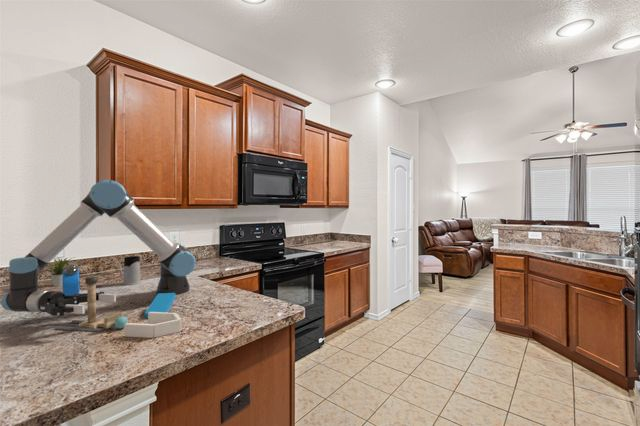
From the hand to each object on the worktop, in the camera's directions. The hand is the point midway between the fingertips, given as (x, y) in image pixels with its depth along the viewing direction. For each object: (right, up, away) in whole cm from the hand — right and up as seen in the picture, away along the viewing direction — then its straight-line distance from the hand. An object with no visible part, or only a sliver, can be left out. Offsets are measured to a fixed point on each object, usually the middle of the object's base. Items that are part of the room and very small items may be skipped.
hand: (100, 303), depth 108 cm
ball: (+8, -6, -1) cm, 10 cm away
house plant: (-67, -9, +64) cm, 93 cm away
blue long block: (+13, -9, +18) cm, 24 cm away
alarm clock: (-43, -9, +40) cm, 59 cm away
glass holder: (-32, -8, +67) cm, 75 cm away
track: (-5, -9, +1) cm, 10 cm away
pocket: (+22, -8, -3) cm, 24 cm away
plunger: (0, -8, 0) cm, 8 cm away
